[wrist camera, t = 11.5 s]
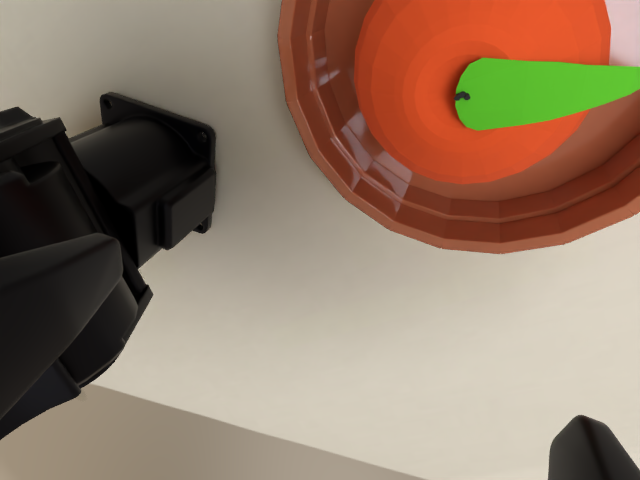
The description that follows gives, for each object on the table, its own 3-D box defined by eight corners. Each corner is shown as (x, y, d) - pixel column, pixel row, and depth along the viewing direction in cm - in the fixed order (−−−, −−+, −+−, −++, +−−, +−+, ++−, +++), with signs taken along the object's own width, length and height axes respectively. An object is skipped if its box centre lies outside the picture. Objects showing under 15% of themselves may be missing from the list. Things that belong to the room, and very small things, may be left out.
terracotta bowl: (290, 152, 21) (257, 183, 18) (361, -263, 13) (322, -327, 10) (576, 251, 19) (591, 303, 16) (878, -171, 11) (1019, -219, 8)
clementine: (652, -98, 12) (788, -147, 7) (600, 140, 16) (658, 241, 10) (375, -52, 15) (302, -60, 9) (384, 141, 18) (335, 222, 13)
